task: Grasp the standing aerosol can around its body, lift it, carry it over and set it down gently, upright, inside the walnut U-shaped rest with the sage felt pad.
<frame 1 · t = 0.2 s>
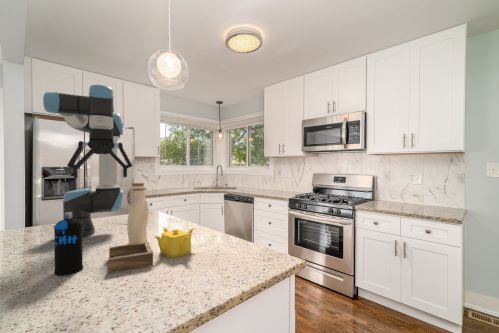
hand: (101, 186, 90), 28 cm above the counter, fingers open, 13 cm apart
water bottle: (137, 243, 112), on the counter
teapot: (175, 253, 101), on the counter
aerosol can: (68, 271, 84), on the counter
u rest: (130, 261, 91), on the counter
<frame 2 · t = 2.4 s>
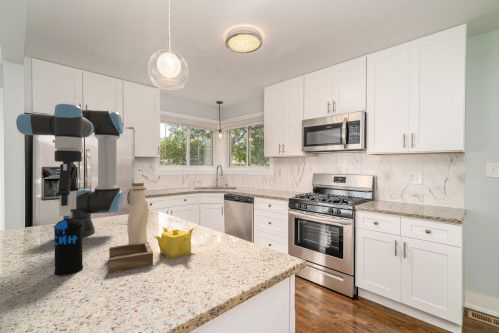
hand: (68, 212, 83), 20 cm above the counter, fingers open, 13 cm apart
nothing on the counter moved.
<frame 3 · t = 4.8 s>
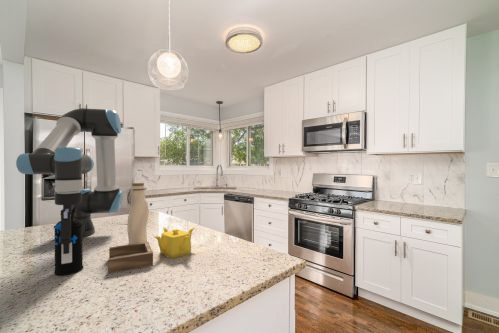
hand: (69, 258, 84), 4 cm above the counter, fingers closed on aerosol can, 8 cm apart
aerosol can: (69, 271, 84), on the counter, touching gripper
everything else where it was.
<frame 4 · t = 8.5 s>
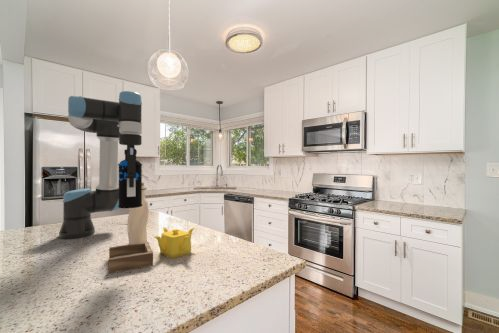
hand: (130, 195, 91), 25 cm above the counter, fingers closed on aerosol can, 8 cm apart
aerosol can: (130, 207, 91), point 21 cm above the counter, touching gripper
everything else where it was.
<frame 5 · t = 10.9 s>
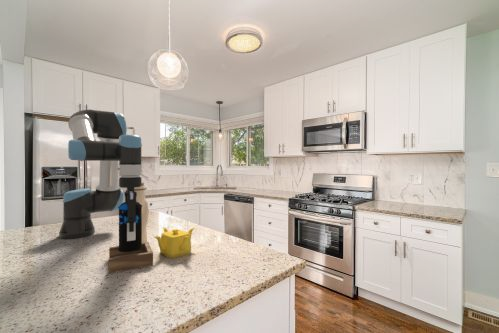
hand: (130, 236, 91), 9 cm above the counter, fingers closed on aerosol can, 8 cm apart
aerosol can: (130, 248, 91), point 5 cm above the counter, touching gripper
everything else where it was.
when the fingers open (7 cm above the counter, at t = 12.5 s): aerosol can drops 1 cm, resting on u rest.
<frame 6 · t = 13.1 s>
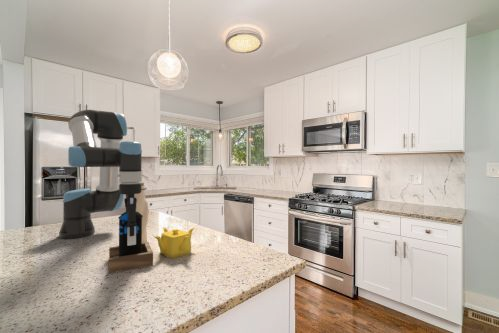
hand: (130, 239, 91), 8 cm above the counter, fingers open, 13 cm apart
aerosol can: (130, 259, 91), point 1 cm above the counter, touching u rest
everything else where it was.
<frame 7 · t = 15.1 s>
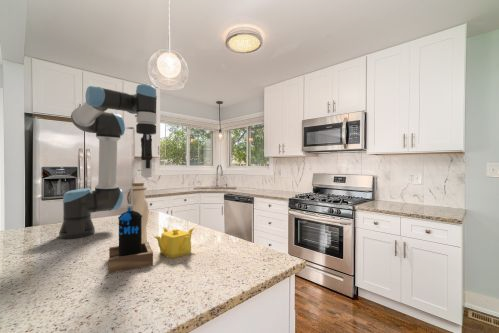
hand: (146, 176, 100), 32 cm above the counter, fingers open, 13 cm apart
nothing on the counter moved.
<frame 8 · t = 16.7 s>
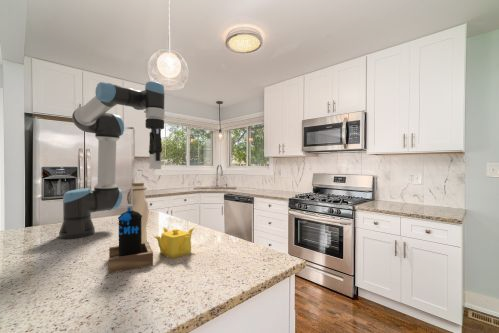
hand: (154, 168, 104), 35 cm above the counter, fingers open, 13 cm apart
nothing on the counter moved.
at the end: aerosol can inside the target area on the u rest (0.2 cm from its centre), point 1.0 cm above the u rest's base; aerosol can tilted 0°; the gripper is holding nothing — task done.
